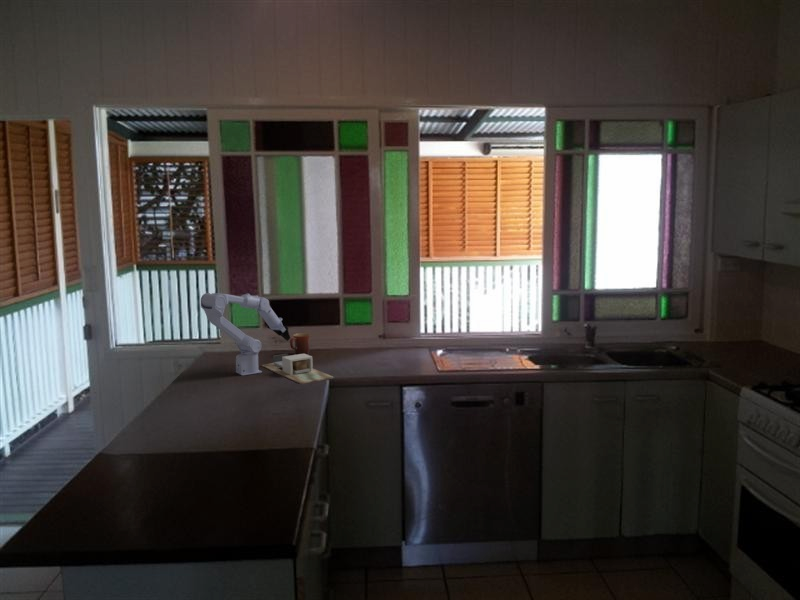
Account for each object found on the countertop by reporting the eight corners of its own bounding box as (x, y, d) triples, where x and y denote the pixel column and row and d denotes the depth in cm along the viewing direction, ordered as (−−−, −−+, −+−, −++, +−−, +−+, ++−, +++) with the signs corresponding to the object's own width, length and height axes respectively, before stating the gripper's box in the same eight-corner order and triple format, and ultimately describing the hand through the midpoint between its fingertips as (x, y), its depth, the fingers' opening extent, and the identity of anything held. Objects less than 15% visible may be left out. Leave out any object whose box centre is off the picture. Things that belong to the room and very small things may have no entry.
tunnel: (290, 374, 276) (290, 360, 275) (282, 371, 282) (282, 356, 281) (312, 371, 282) (312, 356, 281) (304, 367, 289) (304, 353, 288)
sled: (295, 373, 276) (295, 364, 276) (273, 363, 295) (273, 355, 294) (309, 371, 280) (309, 362, 280) (286, 361, 299) (286, 353, 298)
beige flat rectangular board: (300, 384, 263) (300, 382, 263) (261, 366, 294) (261, 364, 294) (333, 378, 273) (333, 376, 273) (292, 361, 304) (292, 359, 304)
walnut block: (296, 370, 278) (296, 362, 277) (291, 368, 281) (291, 359, 281) (306, 369, 280) (306, 360, 280) (301, 367, 284) (301, 358, 284)
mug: (302, 352, 325) (301, 332, 323) (314, 354, 319) (313, 334, 318) (284, 356, 315) (284, 336, 314) (297, 358, 310) (296, 338, 308)
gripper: (284, 316, 285) (298, 335, 294) (269, 306, 296) (283, 326, 304) (272, 326, 283) (287, 346, 291) (257, 316, 294) (272, 336, 302)
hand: (284, 336), depth 298 cm, fingers open, 7 cm apart
